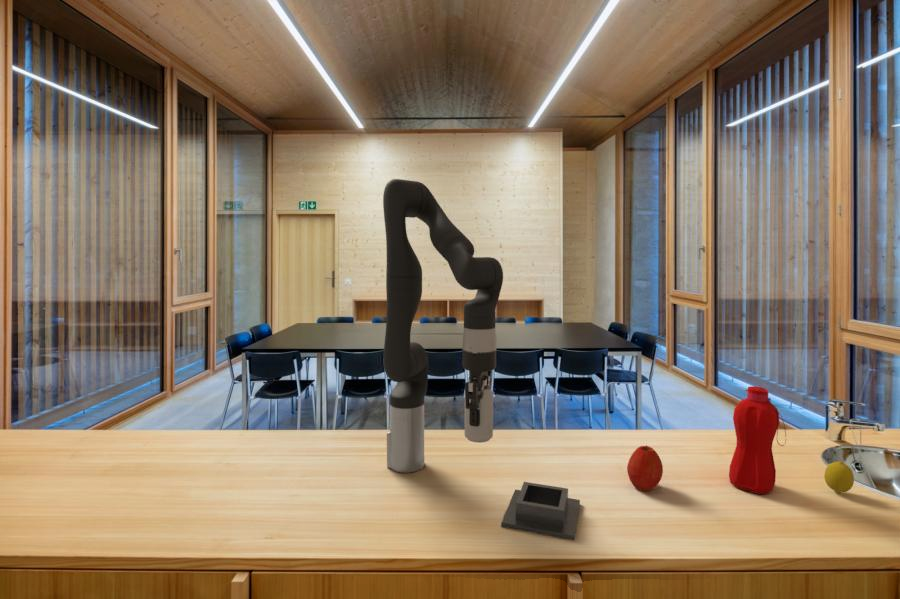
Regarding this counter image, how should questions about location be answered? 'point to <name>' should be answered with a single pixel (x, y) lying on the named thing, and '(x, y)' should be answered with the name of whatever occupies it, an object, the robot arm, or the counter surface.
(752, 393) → the water bottle
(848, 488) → the lemon
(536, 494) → the grey square socket holder
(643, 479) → the apple
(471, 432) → the beverage can
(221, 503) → the counter surface
